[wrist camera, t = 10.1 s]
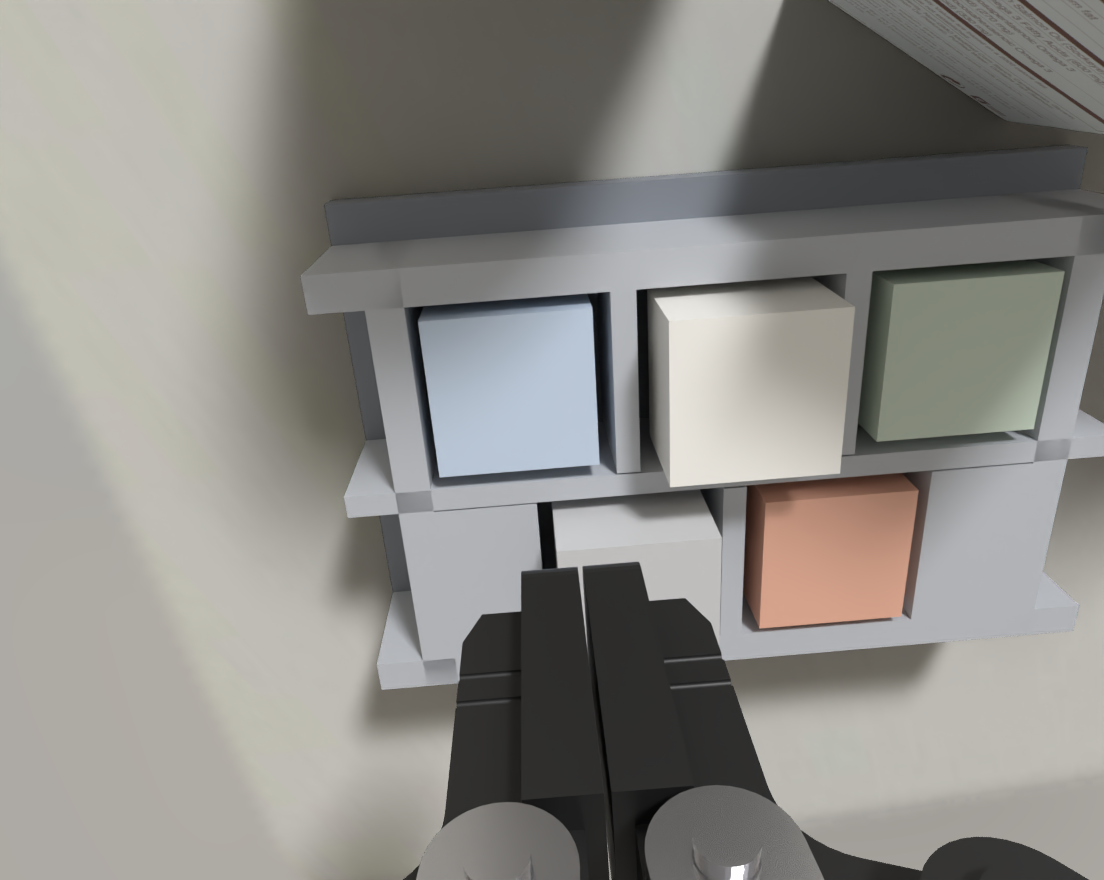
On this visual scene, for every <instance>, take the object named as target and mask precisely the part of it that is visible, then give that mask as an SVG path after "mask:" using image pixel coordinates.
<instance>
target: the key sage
mask: <svg viewBox="0 0 1104 880" xmlns="http://www.w3.org/2000/svg"><path fill="white" fill-rule="evenodd" d="M1064 273H1065V271H1062V270H1060V269H1057V268H1054V267H1051V266H1048V265H1046V264H1043V263H1040V262H1037V261H1034V260H1031V259H1026V260H1013V261H1000V262H987V263H974V264H962V265H949V266H936V267H923V268H910V269H897V270H884V271H873V273H872V283H871V293H870V303H869V314H868V324H867V334H866V344H865V354H864V364H863V374H862V384H861V394H860V405H859V415H858V423H859V424H860V425H861V426H862V427H863V428H864V429H865V430H866V431H867V432H868V433H869V435H870V436H871V437H872V438H873V439H874V440H875V441H876V442H880V441H892V440H904V439H917V438H929V437H941V436H954V435H966V434H978V433H991V432H1003V431H1015V430H1028V429H1034V425H1035V420H1036V415H1037V410H1038V405H1039V400H1040V395H1041V390H1042V385H1043V380H1044V374H1045V369H1046V364H1047V359H1048V354H1049V349H1050V344H1051V339H1052V334H1053V329H1054V324H1055V319H1056V314H1057V309H1058V304H1059V299H1060V294H1061V289H1062V284H1063V279H1064Z"/></svg>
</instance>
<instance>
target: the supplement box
mask: <svg viewBox="0 0 1104 880" xmlns="http://www.w3.org/2000/svg"><path fill="white" fill-rule="evenodd" d="M828 1H830V2H831V3H833V4H834V5H836V6H837V7H839V8H840V9H842V10H843V11H845V12H846V13H848V14H849V15H850V16H852V17H853V18H855V19H856V20H858V21H859V22H861V23H862V24H864V25H865V26H867V27H868V28H870V29H871V30H873V31H874V32H876V33H877V34H879V35H880V36H881V37H883V38H884V39H886V40H887V41H889V42H890V43H891V44H893V45H894V46H896V47H898V48H899V49H901V50H902V51H904V52H905V53H906V54H908V55H909V56H911V57H912V58H914V59H915V60H917V61H918V62H920V63H921V64H922V65H924V66H925V67H927V68H928V69H930V70H931V71H933V72H934V73H935V74H937V75H938V76H940V77H941V78H943V79H944V80H946V81H947V82H949V83H950V84H952V85H953V86H955V87H956V88H958V89H959V90H961V91H962V92H963V93H965V94H966V95H968V96H970V97H971V98H973V99H974V100H976V101H977V102H979V103H980V104H981V105H983V106H984V107H985V108H987V109H988V110H990V111H991V112H993V113H994V114H996V115H997V116H999V117H1000V118H1002V119H1004V120H1006V121H1010V122H1017V123H1024V124H1031V125H1039V126H1048V127H1056V128H1062V129H1067V130H1073V131H1082V132H1090V133H1097V134H1104V0H828Z"/></svg>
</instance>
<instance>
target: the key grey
mask: <svg viewBox="0 0 1104 880" xmlns="http://www.w3.org/2000/svg"><path fill="white" fill-rule="evenodd" d="M552 515H553V528H554V541H555V554H556V568H566V567H578V573H579V582H580V590H581V599H582V608H583V616H584V625H585V633H586V619H585V604H584V589H583V571H582V566H589V565H601V564H614V563H626V562H639V563H640V566H641V569H642V573H643V577H644V582H645V586H646V590H647V594H648V598H649V601H654V600H666V599H679V598H686V599H687V600H688V601H689V602H690V603H691V604H692V605H693V606H694V607H695V608H696V609H697V610H698V611H699V612H700V613H701V614H702V615H703V616H704V617H706V618H707V619H708V620H709V621H710V622H711V624H712V627H713V630H714V633H715V636H716V639H717V642H718V645H719V637H720V597H721V556H722V537H721V535H720V533H719V531H718V528H717V526H716V524H715V522H714V520H713V517H712V515H711V513H710V511H709V509H708V507H707V504H706V502H705V500H704V498H703V496H702V493H701V491H700V489H697V490H685V491H672V492H660V493H648V494H636V495H623V496H611V497H599V498H587V499H574V500H562V501H552ZM586 642H587V635H586ZM587 651H588V650H587Z"/></svg>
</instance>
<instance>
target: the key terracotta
mask: <svg viewBox="0 0 1104 880" xmlns="http://www.w3.org/2000/svg"><path fill="white" fill-rule="evenodd" d="M746 487H747V496H746V522H745V548H744V575H743V593H744V595H745V598H746V600H747V602H748V604H749V606H750V609H751V611H752V613H753V615H754V618H755V620H756V622H757V624H758V626H759V629H760V628H771V627H783V626H795V625H807V624H819V623H830V622H842V621H854V620H866V619H878V618H890V617H901V615H902V608H903V601H904V593H905V586H906V579H907V572H908V565H909V557H910V550H911V543H912V536H913V528H914V521H915V514H916V507H917V499H918V492H919V490H918V489H917V488H916V487H915V486H914V485H913V484H912V483H911V482H910V481H909V480H908V479H907V478H906V477H905V476H904V475H903V474H902V473H893V474H881V475H868V476H856V477H844V478H832V479H819V480H807V481H795V482H783V483H770V484H758V485H746Z"/></svg>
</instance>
